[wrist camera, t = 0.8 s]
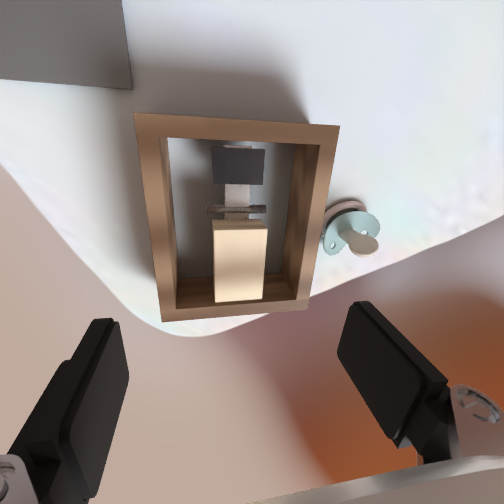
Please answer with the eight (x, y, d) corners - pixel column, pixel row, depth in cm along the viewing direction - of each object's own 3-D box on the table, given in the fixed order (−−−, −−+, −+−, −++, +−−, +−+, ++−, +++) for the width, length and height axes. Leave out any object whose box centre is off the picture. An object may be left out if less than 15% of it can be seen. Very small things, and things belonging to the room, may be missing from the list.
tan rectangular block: (212, 219, 25) (214, 230, 23) (260, 219, 26) (267, 229, 24) (213, 286, 29) (215, 302, 26) (256, 283, 30) (261, 298, 27)
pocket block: (148, 116, 23) (133, 112, 18) (311, 126, 26) (340, 125, 21) (168, 289, 31) (161, 322, 26) (290, 281, 34) (307, 309, 29)
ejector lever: (205, 143, 23) (205, 144, 22) (268, 146, 24) (271, 147, 23) (209, 283, 29) (209, 288, 28) (258, 280, 30) (260, 284, 29)
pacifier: (309, 212, 31) (319, 253, 33) (334, 228, 25) (343, 276, 28) (365, 191, 31) (369, 233, 33) (401, 203, 25) (403, 253, 28)
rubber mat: (-63, -113, 16) (-72, -122, 15) (111, -79, 18) (108, -85, 17) (-1, 78, 20) (-7, 77, 19) (133, 89, 22) (131, 88, 21)
